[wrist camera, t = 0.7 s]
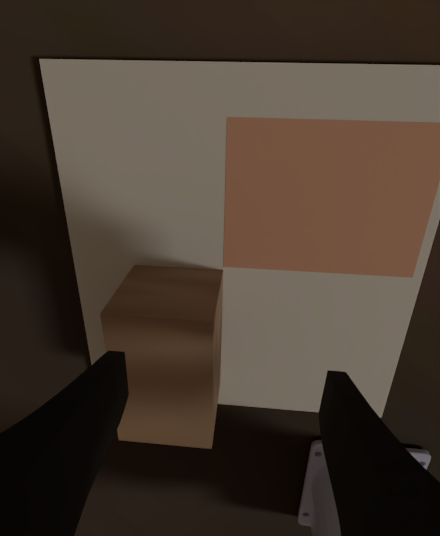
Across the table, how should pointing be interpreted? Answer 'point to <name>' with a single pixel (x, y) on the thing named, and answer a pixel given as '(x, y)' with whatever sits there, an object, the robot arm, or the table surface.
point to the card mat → (258, 205)
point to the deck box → (168, 352)
